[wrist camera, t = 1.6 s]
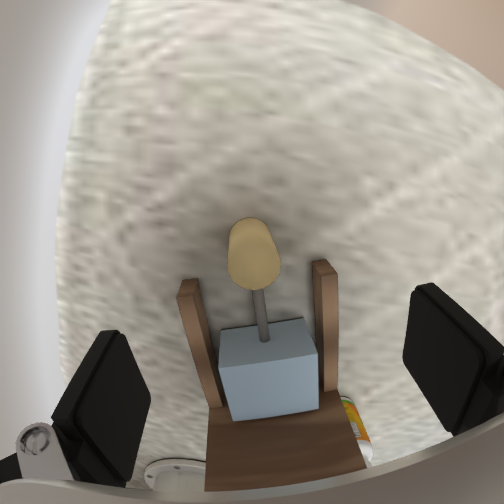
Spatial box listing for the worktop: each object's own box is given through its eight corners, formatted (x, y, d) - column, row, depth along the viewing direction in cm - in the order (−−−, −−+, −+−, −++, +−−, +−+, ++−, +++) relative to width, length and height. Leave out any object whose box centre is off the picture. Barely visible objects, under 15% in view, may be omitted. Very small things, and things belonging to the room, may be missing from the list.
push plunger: (307, 371, 28) (320, 414, 22) (232, 382, 27) (233, 427, 22) (294, 211, 23) (313, 231, 17) (199, 225, 23) (188, 249, 17)
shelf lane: (329, 377, 28) (365, 476, 17) (213, 394, 28) (208, 499, 17) (326, 259, 24) (391, 347, 13) (182, 280, 24) (146, 383, 13)
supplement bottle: (349, 423, 31) (373, 488, 22) (304, 429, 31) (320, 499, 22) (358, 391, 29) (389, 461, 20) (309, 398, 29) (330, 474, 20)
